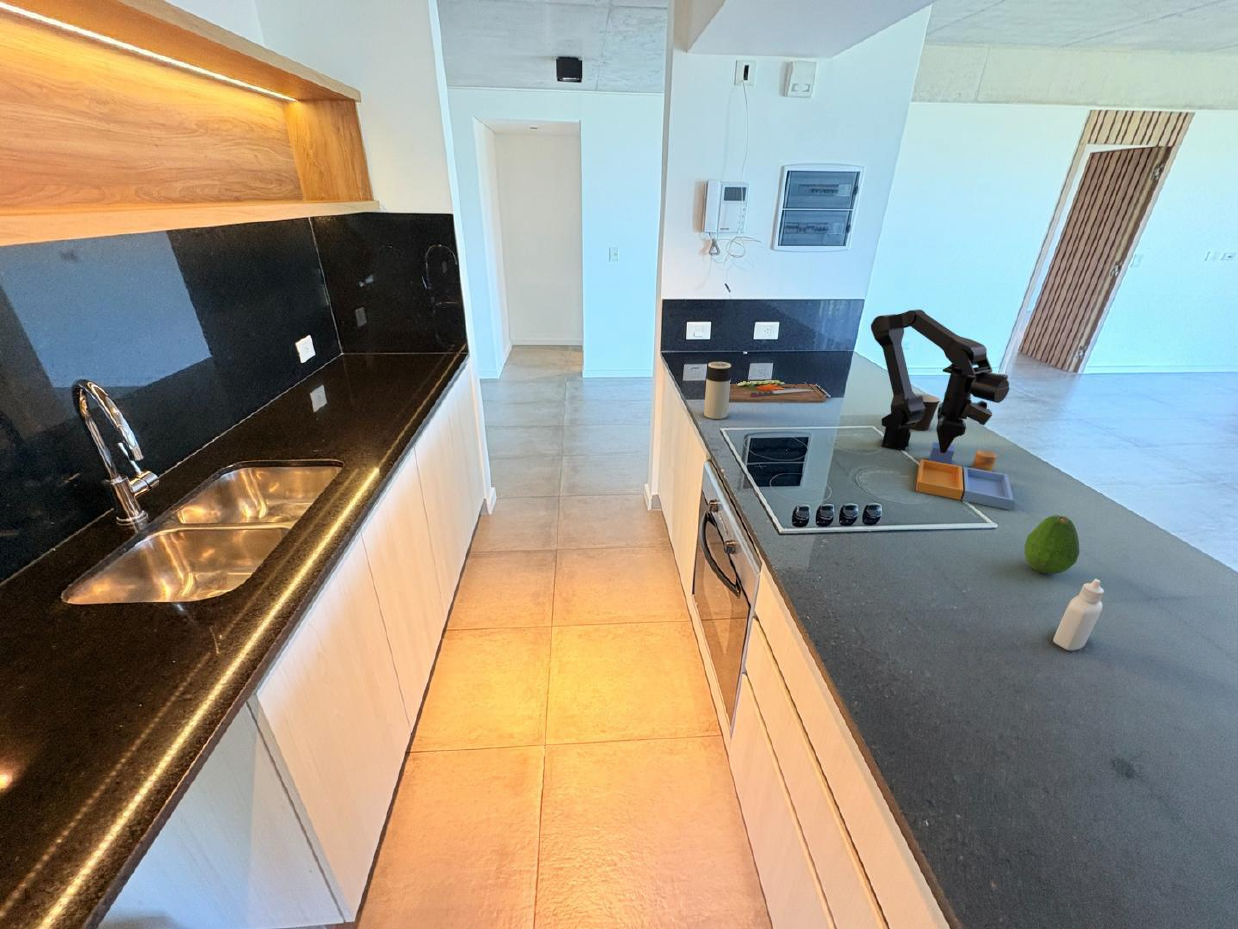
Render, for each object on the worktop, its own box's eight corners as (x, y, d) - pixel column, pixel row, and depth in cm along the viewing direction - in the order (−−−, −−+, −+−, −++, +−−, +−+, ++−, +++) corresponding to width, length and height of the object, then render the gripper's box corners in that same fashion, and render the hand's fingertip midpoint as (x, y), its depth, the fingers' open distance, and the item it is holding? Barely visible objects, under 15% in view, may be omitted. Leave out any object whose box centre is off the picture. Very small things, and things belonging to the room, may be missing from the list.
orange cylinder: (971, 472, 141) (976, 455, 139) (971, 465, 145) (976, 449, 143) (992, 475, 139) (997, 458, 137) (990, 469, 143) (996, 452, 141)
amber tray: (915, 490, 131) (918, 481, 130) (918, 467, 144) (920, 459, 143) (960, 500, 127) (963, 490, 126) (959, 475, 139) (962, 466, 138)
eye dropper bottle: (1041, 631, 86) (1067, 571, 81) (1076, 632, 86) (1104, 572, 81) (1060, 651, 82) (1089, 589, 77) (1097, 652, 82) (1128, 590, 77)
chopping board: (813, 382, 219) (814, 375, 218) (835, 402, 195) (836, 394, 194) (704, 381, 221) (705, 374, 219) (713, 401, 196) (713, 393, 195)
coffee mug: (936, 432, 167) (944, 402, 163) (906, 430, 169) (913, 401, 165) (924, 420, 178) (931, 391, 173) (896, 418, 179) (903, 390, 175)
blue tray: (962, 500, 127) (965, 490, 126) (961, 475, 139) (963, 466, 138) (1010, 510, 123) (1013, 500, 121) (1004, 483, 135) (1007, 474, 134)
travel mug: (717, 421, 177) (721, 368, 170) (699, 415, 183) (702, 364, 175) (732, 416, 182) (736, 364, 174) (714, 410, 187) (718, 360, 180)
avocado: (1008, 564, 103) (1028, 511, 98) (1033, 555, 106) (1054, 503, 101) (1052, 588, 97) (1076, 532, 91) (1078, 577, 99) (1102, 522, 94)
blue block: (928, 464, 146) (932, 447, 143) (928, 458, 150) (933, 441, 147) (949, 468, 143) (954, 451, 141) (949, 461, 147) (953, 445, 145)
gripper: (997, 407, 127) (979, 465, 134) (992, 387, 142) (976, 441, 148) (944, 399, 132) (929, 456, 139) (945, 381, 147) (931, 434, 153)
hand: (943, 447), depth 144 cm, fingers open, 9 cm apart
